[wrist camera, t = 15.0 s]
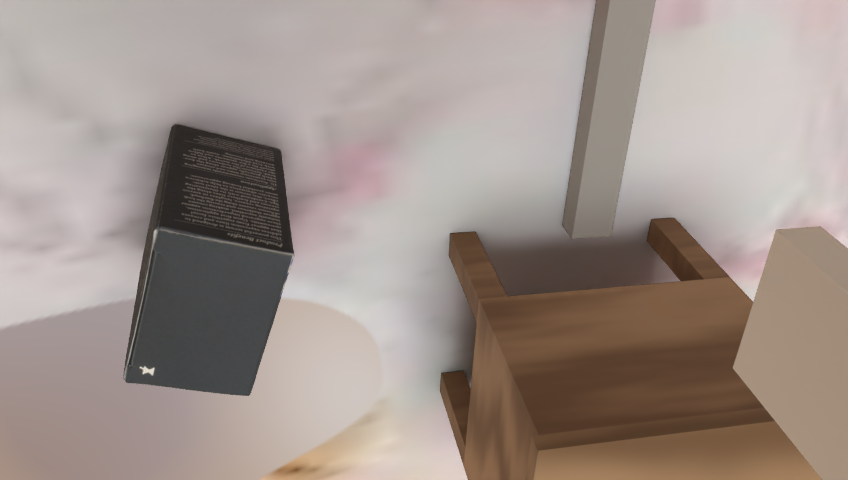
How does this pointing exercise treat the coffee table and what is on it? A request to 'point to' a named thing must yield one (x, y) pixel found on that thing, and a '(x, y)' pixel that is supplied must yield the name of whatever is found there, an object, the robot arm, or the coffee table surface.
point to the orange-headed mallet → (606, 114)
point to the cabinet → (613, 378)
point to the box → (210, 265)
